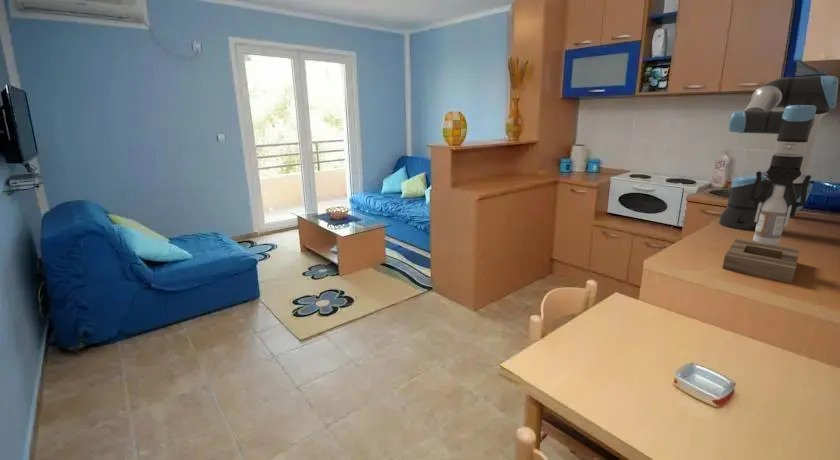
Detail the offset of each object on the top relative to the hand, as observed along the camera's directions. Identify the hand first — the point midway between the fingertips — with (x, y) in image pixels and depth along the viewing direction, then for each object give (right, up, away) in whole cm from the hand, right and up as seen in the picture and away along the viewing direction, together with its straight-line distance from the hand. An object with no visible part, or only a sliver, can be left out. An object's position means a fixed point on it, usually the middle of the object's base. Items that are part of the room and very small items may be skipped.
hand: (770, 223), depth 137 cm
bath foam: (0, -7, +2) cm, 7 cm away
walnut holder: (0, -15, +5) cm, 16 cm away
